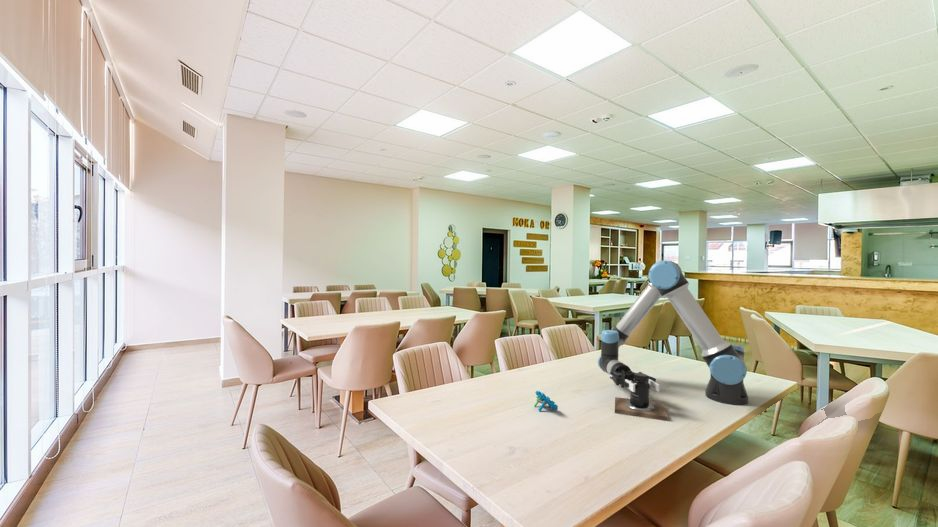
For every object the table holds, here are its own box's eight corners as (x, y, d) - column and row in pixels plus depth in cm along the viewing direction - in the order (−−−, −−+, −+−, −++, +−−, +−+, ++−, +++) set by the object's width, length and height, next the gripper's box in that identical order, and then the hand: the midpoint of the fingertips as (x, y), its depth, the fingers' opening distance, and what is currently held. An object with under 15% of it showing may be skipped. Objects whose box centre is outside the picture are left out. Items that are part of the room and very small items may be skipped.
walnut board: (663, 407, 152) (663, 402, 152) (667, 420, 139) (667, 415, 139) (615, 400, 159) (615, 396, 159) (614, 413, 146) (614, 408, 146)
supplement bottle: (629, 406, 147) (631, 375, 147) (629, 400, 153) (630, 370, 153) (649, 409, 144) (650, 377, 144) (648, 403, 151) (649, 373, 151)
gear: (563, 409, 144) (546, 391, 143) (554, 422, 142) (536, 404, 141) (548, 403, 155) (531, 386, 153) (539, 415, 153) (523, 398, 151)
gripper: (642, 379, 167) (673, 398, 145) (594, 379, 166) (618, 398, 143) (643, 362, 167) (674, 378, 145) (594, 362, 166) (618, 378, 143)
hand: (646, 388), depth 144 cm, fingers open, 9 cm apart
